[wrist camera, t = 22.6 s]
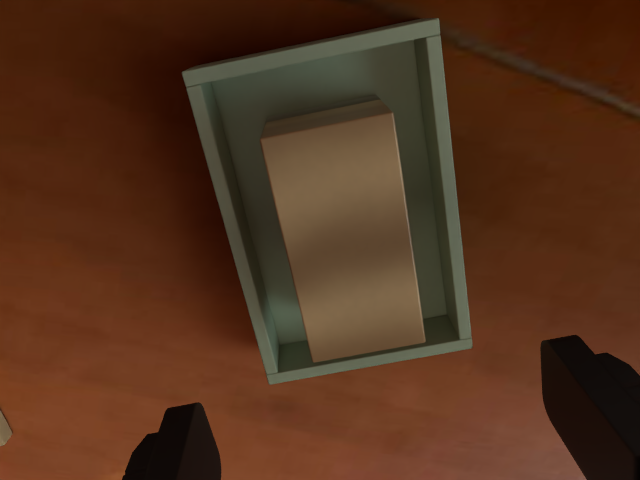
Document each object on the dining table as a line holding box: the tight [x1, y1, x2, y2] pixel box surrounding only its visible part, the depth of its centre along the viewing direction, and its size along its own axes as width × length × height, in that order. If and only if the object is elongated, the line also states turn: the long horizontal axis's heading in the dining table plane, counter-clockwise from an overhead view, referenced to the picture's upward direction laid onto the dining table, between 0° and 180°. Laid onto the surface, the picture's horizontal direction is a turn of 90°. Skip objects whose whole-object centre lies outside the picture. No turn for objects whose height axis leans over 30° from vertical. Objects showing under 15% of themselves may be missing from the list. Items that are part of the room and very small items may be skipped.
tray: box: [182, 18, 473, 384], centre depth 25 cm, size 15×10×3 cm
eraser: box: [260, 95, 426, 363], centre depth 24 cm, size 10×5×5 cm, turn 11°
